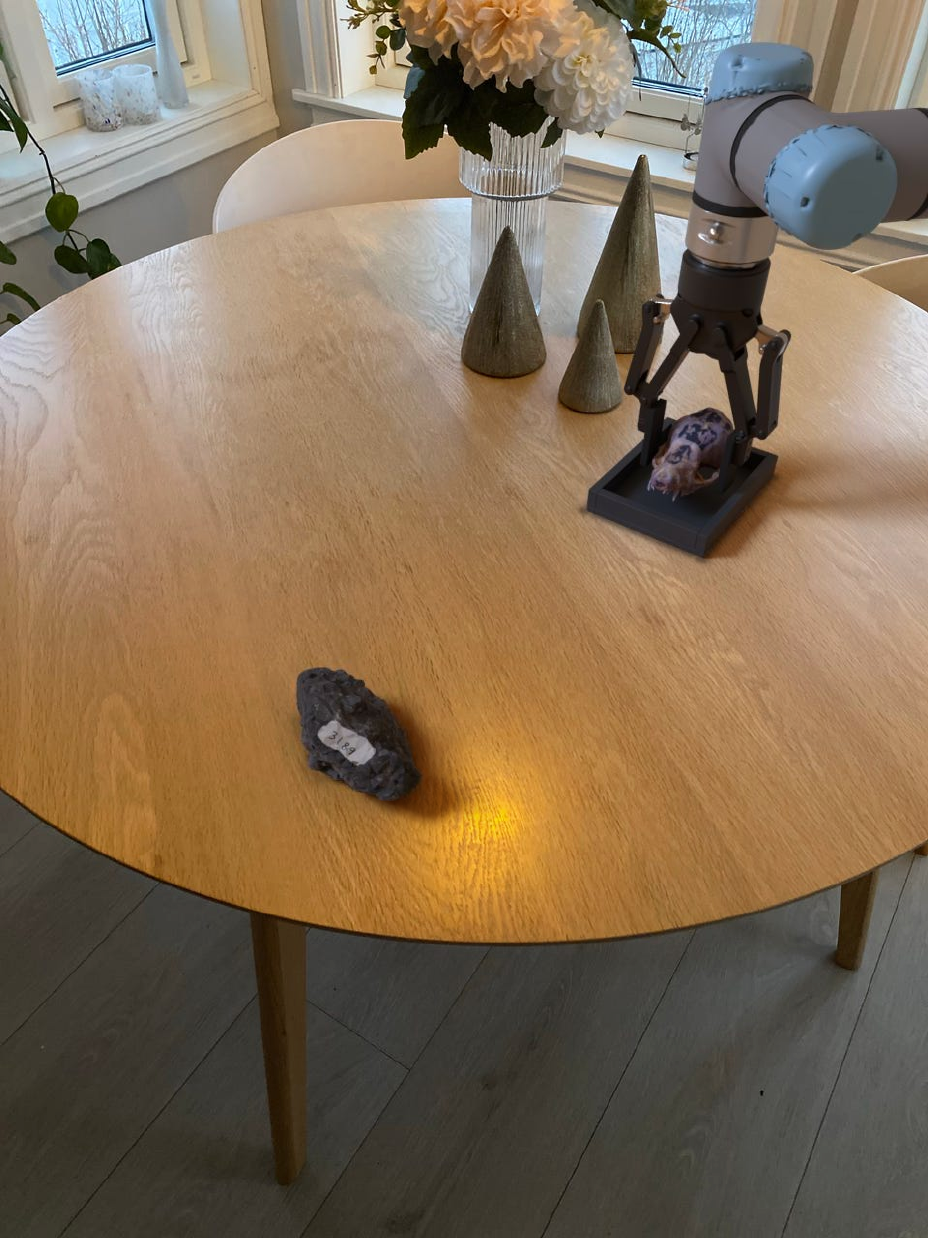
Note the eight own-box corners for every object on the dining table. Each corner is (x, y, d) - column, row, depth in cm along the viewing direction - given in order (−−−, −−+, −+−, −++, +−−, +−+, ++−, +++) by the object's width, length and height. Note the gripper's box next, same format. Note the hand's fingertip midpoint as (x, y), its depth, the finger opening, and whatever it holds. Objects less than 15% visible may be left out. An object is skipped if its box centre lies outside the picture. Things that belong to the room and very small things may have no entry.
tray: (773, 475, 102) (779, 455, 100) (702, 558, 92) (707, 537, 90) (663, 436, 108) (667, 416, 106) (586, 510, 97) (588, 489, 96)
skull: (680, 512, 93) (685, 454, 89) (617, 489, 97) (619, 432, 94) (749, 468, 99) (756, 413, 96) (687, 448, 104) (691, 394, 100)
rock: (245, 676, 73) (349, 634, 68) (314, 679, 80) (412, 641, 76) (278, 832, 70) (388, 799, 66) (346, 820, 77) (449, 789, 73)
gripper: (601, 238, 85) (580, 456, 100) (828, 298, 76) (766, 528, 91) (642, 212, 89) (615, 425, 105) (860, 266, 80) (796, 490, 96)
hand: (685, 473), depth 98 cm, fingers closed on skull, 8 cm apart
